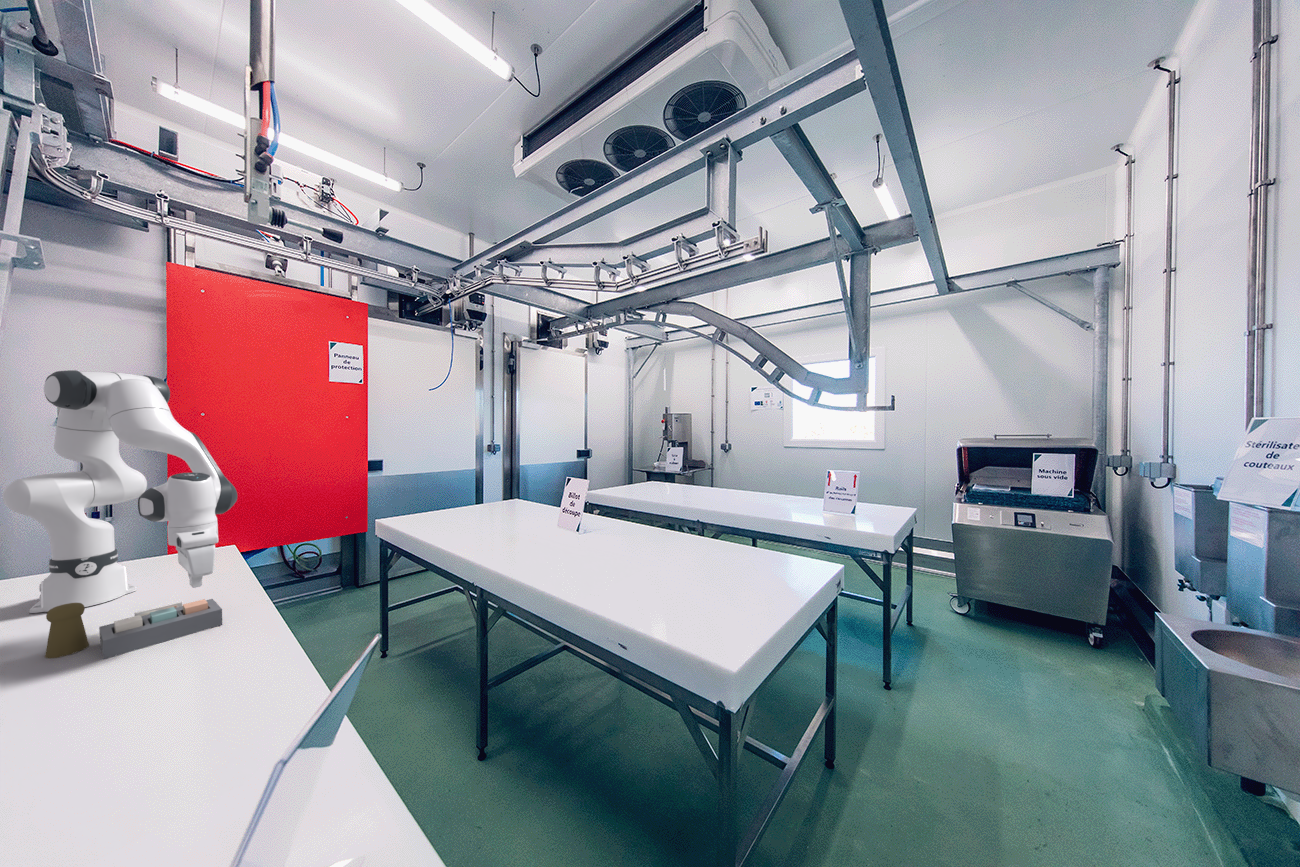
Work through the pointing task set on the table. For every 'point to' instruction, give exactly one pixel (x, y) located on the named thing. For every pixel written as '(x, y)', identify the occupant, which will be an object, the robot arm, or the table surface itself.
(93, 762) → the table surface
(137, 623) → the cream key
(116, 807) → the table surface
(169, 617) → the teal key
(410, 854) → the table surface
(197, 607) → the terracotta key
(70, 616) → the cork
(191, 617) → the keypad
